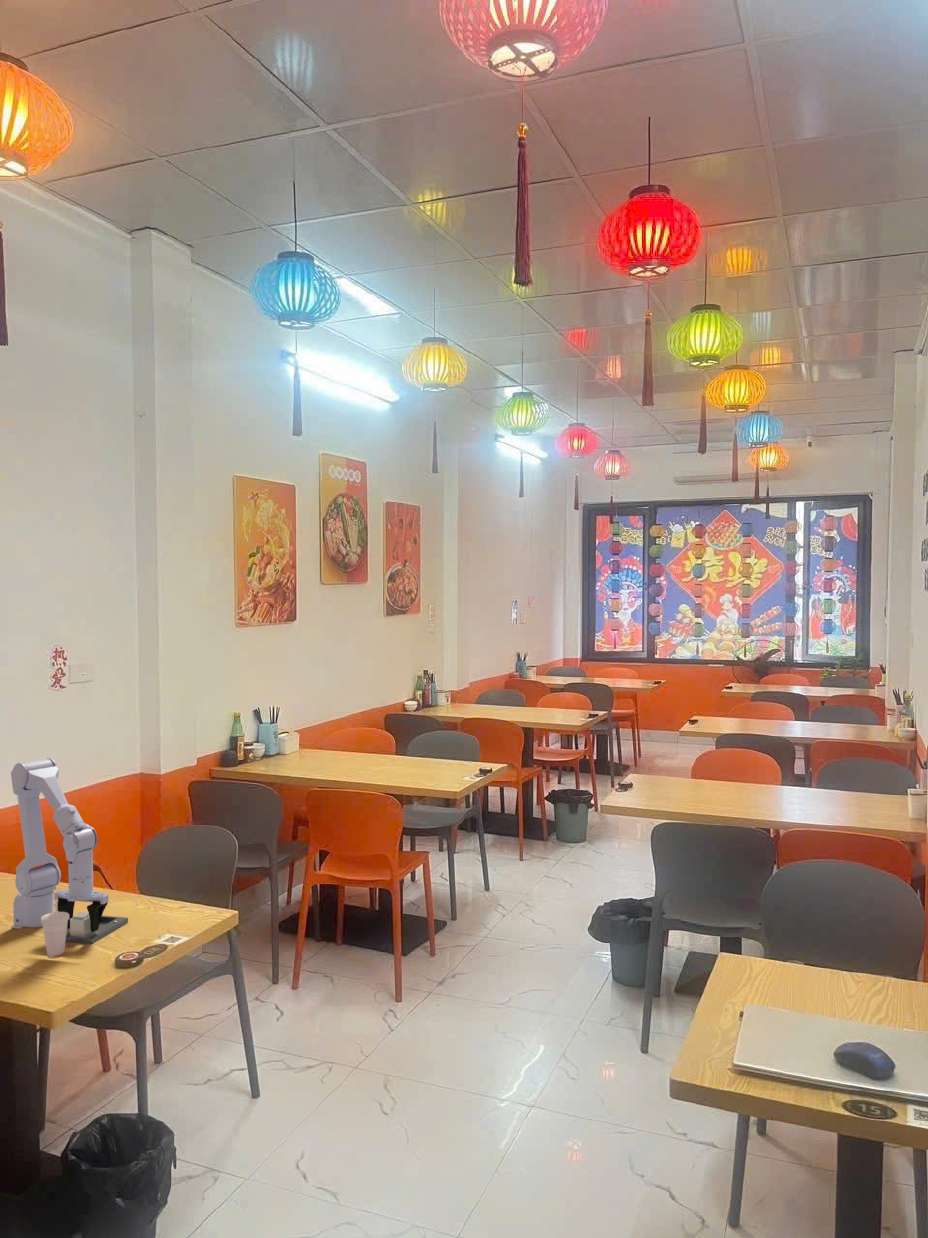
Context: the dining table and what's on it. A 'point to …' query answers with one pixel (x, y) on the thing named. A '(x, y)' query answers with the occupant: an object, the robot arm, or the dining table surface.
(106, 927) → the panel
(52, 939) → the smoothie
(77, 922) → the beige rectangular block
